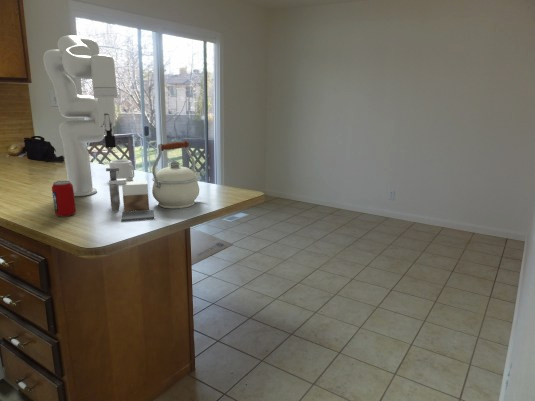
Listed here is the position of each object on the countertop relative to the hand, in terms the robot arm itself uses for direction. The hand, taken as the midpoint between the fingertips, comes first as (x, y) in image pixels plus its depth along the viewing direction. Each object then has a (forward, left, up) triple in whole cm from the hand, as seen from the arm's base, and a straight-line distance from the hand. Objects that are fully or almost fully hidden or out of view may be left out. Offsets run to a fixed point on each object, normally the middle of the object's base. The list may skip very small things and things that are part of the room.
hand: (110, 147), depth 136 cm
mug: (+1, +60, -25) cm, 65 cm away
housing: (+5, +8, -24) cm, 26 cm away
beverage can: (-18, +3, -25) cm, 30 cm away
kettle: (+24, +8, -25) cm, 35 cm away
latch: (+1, +5, -14) cm, 15 cm away
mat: (+7, -6, -24) cm, 26 cm away
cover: (+7, +5, -18) cm, 20 cm away
